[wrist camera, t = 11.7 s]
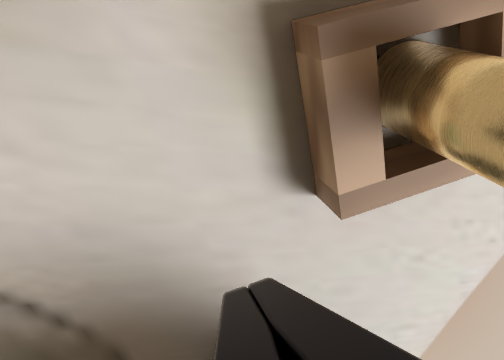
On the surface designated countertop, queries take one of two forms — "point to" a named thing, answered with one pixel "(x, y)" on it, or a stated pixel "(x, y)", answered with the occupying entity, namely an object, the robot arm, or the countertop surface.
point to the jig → (375, 96)
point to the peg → (446, 103)
